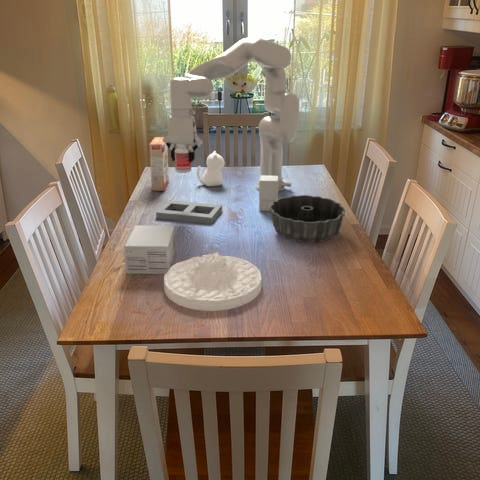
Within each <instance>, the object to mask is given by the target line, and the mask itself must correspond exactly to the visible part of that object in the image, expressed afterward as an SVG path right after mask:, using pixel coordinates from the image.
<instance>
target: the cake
mask: <svg viewBox="0 0 480 480" xmlns="http://www.w3.org/2000/svg"><path fill="white" fill-rule="evenodd" d="M219 253H220V252H219V251H216V252H213V253H208V254H203V255H201V256H193V257H190V258H188V259H186V260H183V261H180V262H179V261H177V262H176V263H174V264H173V265H171V267H170V269H169V270H168V272H167V273H166V274H163V290H164V294H165V295H166V297H167V298H168V299H169V300H170V301H171V302H173V303H174V304H175V305H178V306H181V307H184V308H187V309H190V310H195V311H201V312H202V311H205V312H217V311H226V310H231V309H235V308H239V307H241V306H244V305H246V304H248V303H251V302H252V301H253V300H255V299H256V298H257V297H258V296H259V294H260V293H261V290H262V274H261V273H262V272H261V271H260V270H259V268H258V267H257V266H256V265H254V264H253V263H251V262H250V261H248V260H245V259H243V258H240V257H236V256H229V255H221V254H219Z"/></svg>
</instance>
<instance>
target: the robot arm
mask: <svg viewBox="0 0 480 480" xmlns="http://www.w3.org/2000/svg"><path fill="white" fill-rule="evenodd" d="M291 61H292V53H291V51H290V50H289V48H287V46H284V45H281V44H278V43H275V42H272V41H269V40H266V39H263V38H257V37H256V38H255V37H245V38H242V39H240V40H239V41H237V42H236V43H234V44H233V45H232V46H231V47H229V48H228V49H227V50H225V51H224V52H223V53H221V54H219V55H218V56H216V57H214V58H211V59H209V60H207V61H205V62H202V63H200V64H198V65H197V66H196V65H195V67H193V68H191V70H189V71H187V73H185V74H184V75H182V76H183V77H182V76H181V77H179V76H178V77H173V78H171V79H170V82H169V91H170V115H169V119H168V127H167V128H168V129H167V134H166V135H165V136H163V137H164V138H163V139H162V141H163V142H164V143H165V144H166V145H167V149H169V150H170V158H171V161H172V162H175V149H176V144H186V145H188V146H189V147H188V148H189V149H190V152H189V162H191V163H193V162H194V161H195V156H196V155H195V151H196V150H197V149H198V148H199V147H200V146H201V145H202V144H203V140H202V139H201V138H200V137H199V136H198V134H197V133H198V132H197V125H196V120H195V119H196V118H195V116H193V115H195V114H196V110H194V109H193V108H192V106H193V105H192V99H194V98H195V99H205V98H208V97H209V96H211V95H212V94H213V91H214V84H213V82H212V81H213V80H217V79H225V78H229V77H232V76H233V75H235V74H236V73H238V72H239V71H240V70H242V68H243V67H245V66H247V65H248V64H249V63H251V62H252V63H257V65H258V66H259V67H260V68H261V69H262V71H263V73H264V77H265V85H264V86H265V87H264V98H263V99H264V101H263V102H264V103H263V105H264V109H265V110H266V111H267V112H268V113H271V114H276V115H279V117H278V116H275V115H267V116H264V117H263V118H261V120H260V121H259V124H258V134H259V140H260V158H259V159H260V160H259V161H260V164H259V169H260V172H259V177H260V176H261V175H265V176H278V193H279V192H282V191H284V190H285V189H286V187H290V188H291V187H292V182H291V181H289V180H284V177H282V176H283V174H282V173H283V172H282V171H283V155H284V154H283V152H284V151H283V144H289V143H292V141H294V139H295V138H296V136H297V134H298V133H297V132H298V127H299V126H298V125H299V114H300V101H299V98H298V96H297V95H296V94H295V93H293V92H292V91H287V74H286V71H285V69H286V68H288V67H289V66H290V64H291ZM194 143H196V144H194ZM255 187H256V189H257V190H258V191H259V182H258V183H257V184H256V185H255Z"/></svg>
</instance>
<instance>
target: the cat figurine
mask: <svg viewBox="0 0 480 480" xmlns="http://www.w3.org/2000/svg"><path fill="white" fill-rule="evenodd" d="M225 164H226V163H225V160H224V158H223V156H221V155H220V154H218V153H217V151H216V150H214V151H212V153H210V154H209V155H207V158H206V167H207V168H206V169H205V170H204V173H203V176H202V177H201V168H202V167H201V165H199V166H197V170H196V176H197V179H198V181H199V182H200V183H201V184H203V185H205V186H206V187H218V186H219V187H220V186H221V185H222V184H223V181H224V180H223V179H224V178H223V172H222V171H221V170H222V169H223V168H224V166H225Z"/></svg>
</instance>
